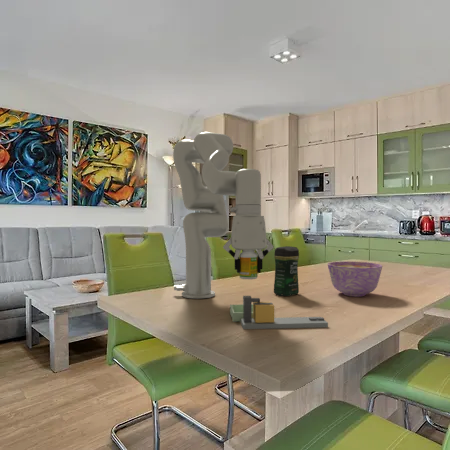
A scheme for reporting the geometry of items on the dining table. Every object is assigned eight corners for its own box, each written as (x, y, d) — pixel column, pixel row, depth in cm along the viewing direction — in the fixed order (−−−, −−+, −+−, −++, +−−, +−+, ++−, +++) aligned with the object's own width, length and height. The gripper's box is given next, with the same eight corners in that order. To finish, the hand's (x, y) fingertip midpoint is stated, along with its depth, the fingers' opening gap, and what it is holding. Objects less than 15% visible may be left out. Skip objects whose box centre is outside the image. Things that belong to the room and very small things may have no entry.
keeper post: (244, 327, 99) (244, 297, 98) (243, 324, 101) (243, 295, 101) (260, 326, 99) (260, 297, 99) (258, 324, 101) (258, 295, 101)
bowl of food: (317, 294, 140) (317, 264, 140) (341, 287, 155) (341, 260, 155) (370, 302, 127) (370, 269, 127) (390, 294, 141) (390, 264, 141)
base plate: (243, 329, 97) (243, 322, 97) (240, 322, 103) (240, 316, 103) (327, 327, 98) (327, 320, 98) (320, 320, 104) (320, 315, 104)
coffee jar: (286, 297, 135) (286, 247, 135) (270, 294, 141) (270, 246, 141) (302, 294, 141) (302, 246, 141) (286, 291, 147) (286, 245, 147)
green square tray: (232, 321, 103) (232, 313, 103) (229, 312, 114) (229, 304, 114) (268, 321, 104) (268, 312, 104) (262, 312, 114) (262, 304, 114)
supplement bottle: (252, 280, 105) (252, 246, 105) (236, 278, 108) (235, 245, 108) (260, 277, 109) (260, 245, 109) (244, 276, 112) (244, 244, 112)
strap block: (255, 322, 97) (255, 305, 97) (253, 317, 102) (253, 301, 102) (274, 322, 98) (274, 305, 98) (270, 317, 103) (270, 301, 103)
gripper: (220, 211, 104) (220, 274, 104) (279, 210, 105) (279, 273, 105) (218, 211, 111) (219, 270, 112) (274, 211, 113) (274, 270, 113)
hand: (248, 271), depth 109 cm, fingers closed on supplement bottle, 5 cm apart
